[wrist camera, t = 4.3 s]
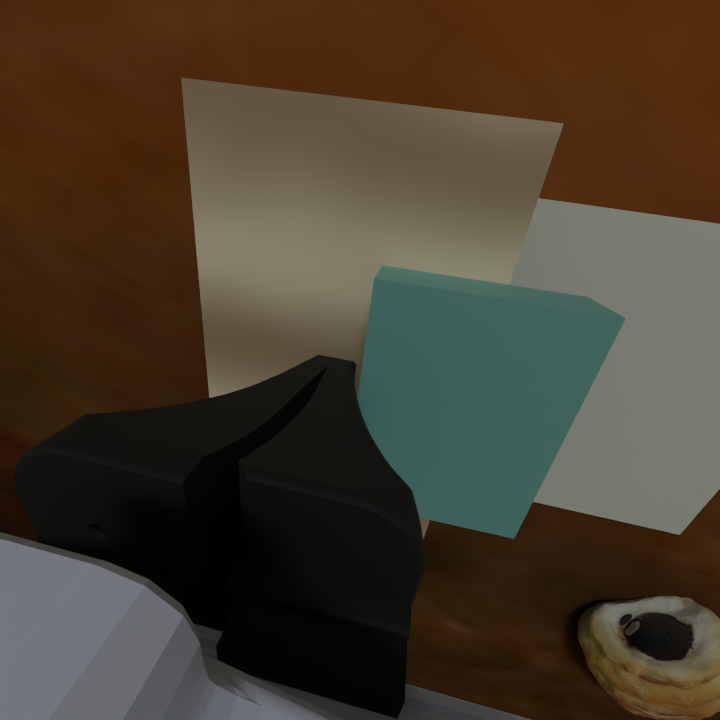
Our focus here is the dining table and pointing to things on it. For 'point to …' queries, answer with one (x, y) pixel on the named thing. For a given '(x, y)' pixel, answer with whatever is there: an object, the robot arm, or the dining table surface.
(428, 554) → the dining table surface
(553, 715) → the dining table surface
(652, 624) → the pastry
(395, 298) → the tile
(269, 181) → the beige flat block
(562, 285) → the mat
